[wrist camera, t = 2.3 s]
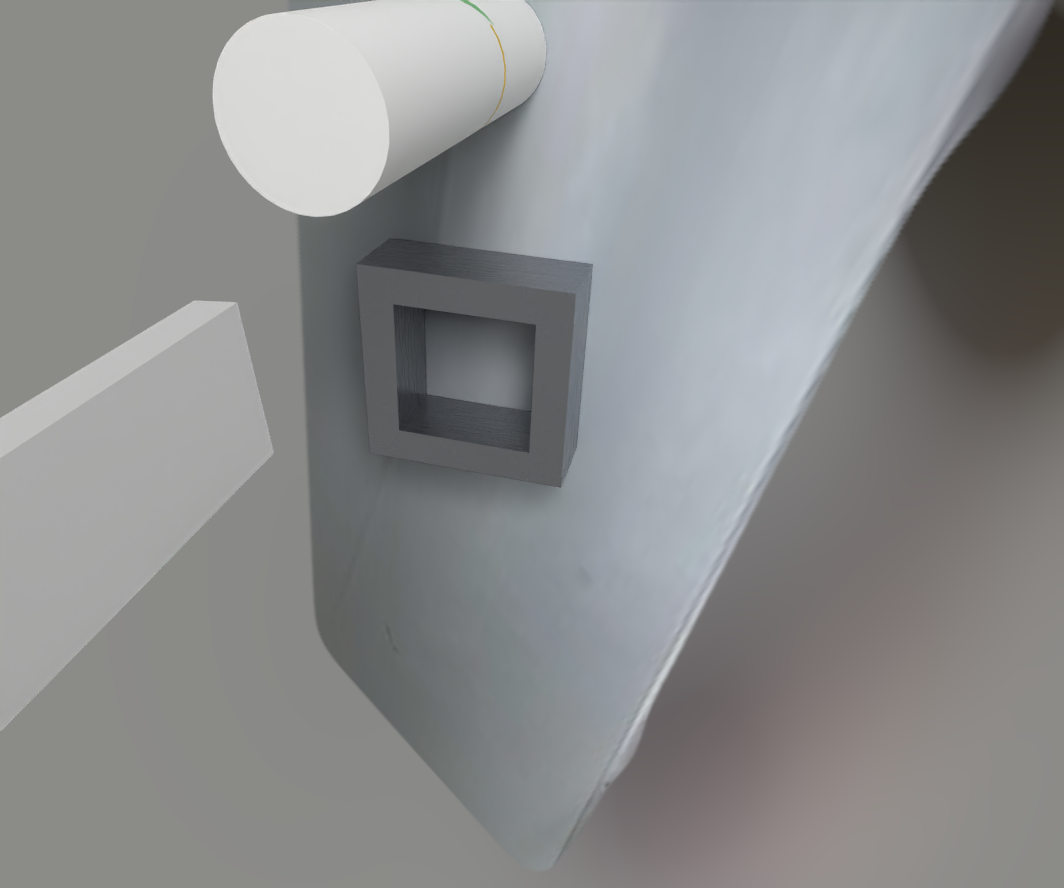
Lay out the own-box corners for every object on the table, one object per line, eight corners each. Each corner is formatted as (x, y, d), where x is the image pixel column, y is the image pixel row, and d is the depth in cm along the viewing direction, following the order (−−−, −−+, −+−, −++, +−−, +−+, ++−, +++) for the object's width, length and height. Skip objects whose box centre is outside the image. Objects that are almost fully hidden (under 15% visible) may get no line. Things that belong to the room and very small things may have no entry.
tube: (568, 69, 30) (427, 152, 18) (480, 134, 32) (298, 249, 20) (503, -41, 29) (301, -34, 16) (415, 34, 31) (177, 90, 18)
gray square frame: (390, 238, 35) (356, 264, 33) (592, 264, 34) (575, 293, 31) (398, 416, 40) (369, 452, 37) (576, 447, 39) (560, 487, 36)
